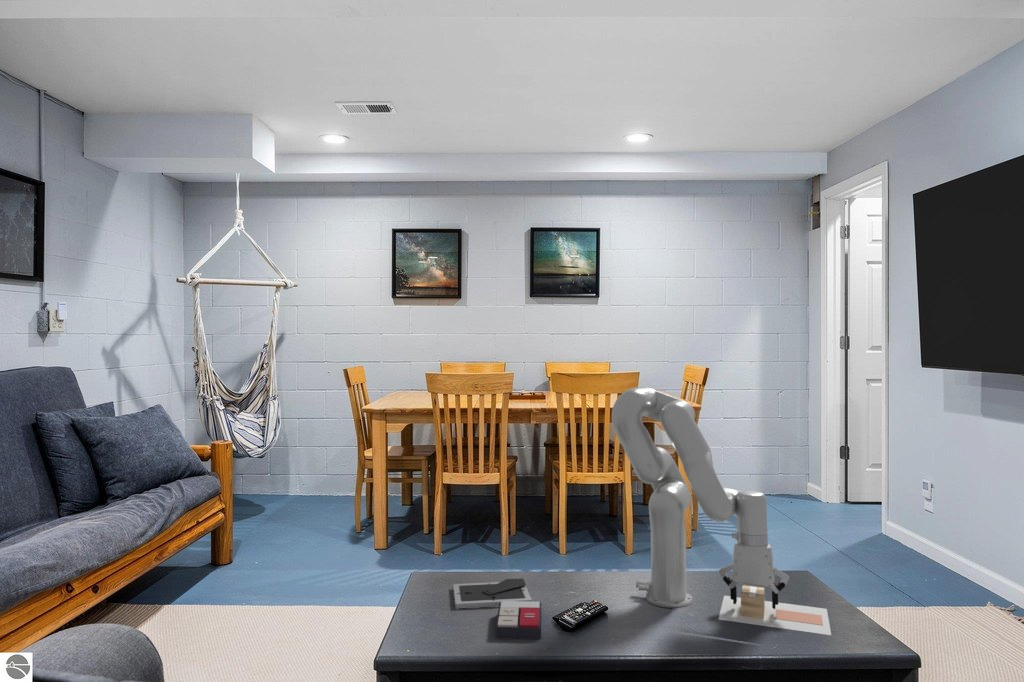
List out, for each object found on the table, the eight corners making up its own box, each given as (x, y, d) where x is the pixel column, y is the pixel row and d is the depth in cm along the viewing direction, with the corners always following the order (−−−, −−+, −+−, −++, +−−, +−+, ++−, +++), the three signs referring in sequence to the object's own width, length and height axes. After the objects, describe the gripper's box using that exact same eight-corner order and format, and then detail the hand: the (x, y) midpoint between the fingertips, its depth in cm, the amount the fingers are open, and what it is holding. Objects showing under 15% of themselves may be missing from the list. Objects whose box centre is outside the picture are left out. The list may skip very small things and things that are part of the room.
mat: (718, 621, 167) (718, 618, 167) (724, 597, 183) (724, 595, 183) (831, 637, 157) (831, 634, 157) (826, 610, 174) (826, 608, 174)
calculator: (495, 624, 157) (499, 598, 172) (495, 642, 157) (499, 614, 172) (541, 625, 156) (541, 599, 171) (541, 643, 156) (541, 615, 171)
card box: (763, 618, 167) (763, 598, 167) (741, 615, 169) (740, 595, 169) (764, 606, 175) (764, 587, 175) (743, 603, 177) (742, 584, 177)
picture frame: (523, 587, 194) (453, 591, 191) (523, 578, 194) (453, 581, 191) (531, 607, 178) (455, 611, 175) (531, 597, 178) (455, 601, 175)
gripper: (717, 539, 172) (718, 605, 172) (788, 545, 166) (790, 614, 165) (719, 532, 179) (721, 596, 179) (787, 538, 173) (789, 604, 172)
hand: (754, 604), depth 172 cm, fingers open, 9 cm apart
